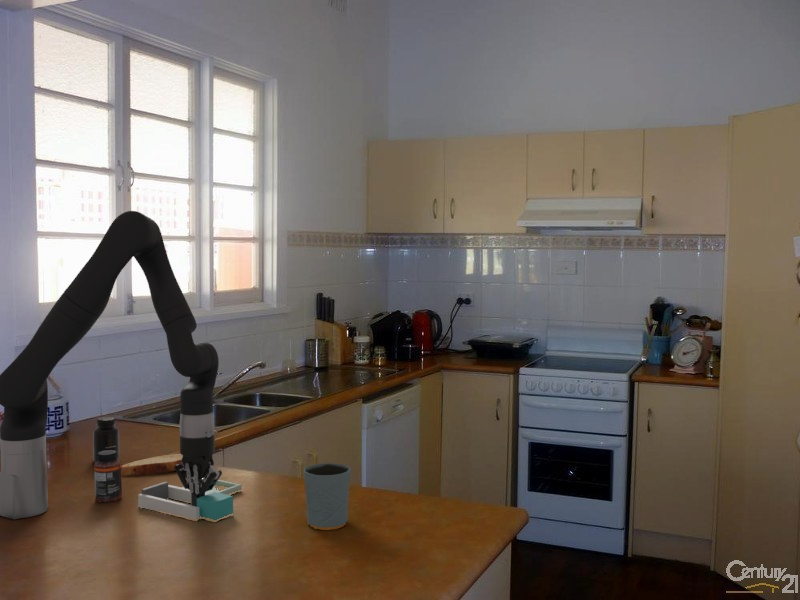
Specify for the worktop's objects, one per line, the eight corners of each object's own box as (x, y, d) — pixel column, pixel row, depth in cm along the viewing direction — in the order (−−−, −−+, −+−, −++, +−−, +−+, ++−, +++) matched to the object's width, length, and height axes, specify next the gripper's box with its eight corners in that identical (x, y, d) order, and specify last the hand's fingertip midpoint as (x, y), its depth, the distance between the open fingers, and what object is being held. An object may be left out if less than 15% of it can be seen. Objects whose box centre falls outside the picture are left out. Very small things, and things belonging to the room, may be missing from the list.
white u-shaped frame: (196, 522, 171) (195, 504, 170) (138, 507, 180) (138, 490, 180) (225, 510, 178) (225, 493, 178) (168, 497, 188) (168, 480, 188)
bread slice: (111, 475, 207) (111, 461, 207) (155, 458, 224) (154, 445, 224) (168, 482, 201) (168, 468, 201) (209, 464, 218) (208, 451, 218)
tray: (209, 503, 183) (209, 495, 183) (177, 496, 189) (177, 488, 189) (241, 491, 192) (241, 484, 192) (210, 484, 198) (210, 477, 198)
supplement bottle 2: (110, 493, 191) (109, 447, 190) (127, 497, 188) (126, 450, 187) (89, 500, 185) (88, 453, 185) (106, 504, 182) (105, 456, 182)
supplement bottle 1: (110, 464, 216) (109, 421, 216) (88, 463, 218) (87, 420, 217) (124, 458, 223) (123, 416, 222) (102, 456, 224) (101, 415, 224)
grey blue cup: (307, 533, 164) (307, 477, 163) (300, 517, 174) (300, 464, 173) (355, 529, 167) (355, 473, 166) (345, 513, 176) (345, 460, 175)
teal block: (215, 523, 170) (214, 502, 170) (197, 518, 173) (196, 498, 173) (233, 515, 175) (232, 495, 174) (215, 511, 178) (215, 491, 177)
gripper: (163, 432, 176) (164, 508, 177) (206, 439, 169) (207, 518, 170) (188, 425, 182) (189, 499, 183) (231, 432, 175) (232, 509, 176)
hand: (198, 508), depth 177 cm, fingers closed
